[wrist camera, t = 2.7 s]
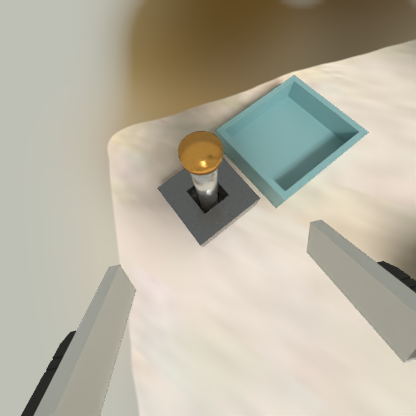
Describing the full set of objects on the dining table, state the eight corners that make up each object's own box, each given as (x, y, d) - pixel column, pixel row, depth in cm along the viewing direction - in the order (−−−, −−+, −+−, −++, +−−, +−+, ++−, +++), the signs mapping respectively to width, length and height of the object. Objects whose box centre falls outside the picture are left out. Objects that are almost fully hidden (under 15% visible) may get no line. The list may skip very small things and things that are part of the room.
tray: (285, 94, 35) (294, 74, 31) (350, 147, 31) (368, 132, 27) (216, 144, 33) (216, 129, 29) (276, 208, 29) (285, 200, 25)
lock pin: (210, 186, 31) (204, 123, 16) (225, 202, 30) (232, 152, 15) (192, 199, 30) (169, 147, 16) (206, 217, 29) (195, 179, 15)
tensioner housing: (214, 161, 32) (213, 148, 28) (254, 205, 29) (260, 198, 25) (165, 196, 31) (157, 188, 27) (202, 247, 28) (200, 245, 24)
